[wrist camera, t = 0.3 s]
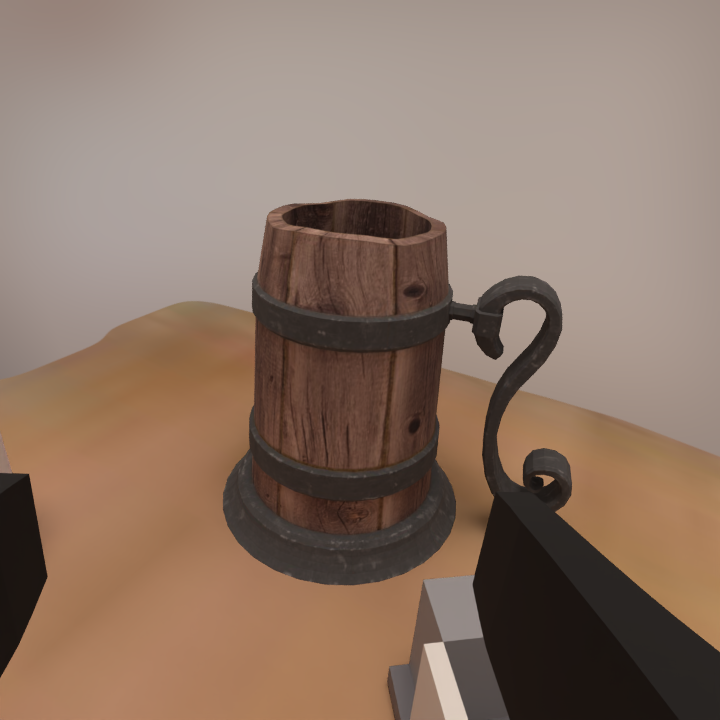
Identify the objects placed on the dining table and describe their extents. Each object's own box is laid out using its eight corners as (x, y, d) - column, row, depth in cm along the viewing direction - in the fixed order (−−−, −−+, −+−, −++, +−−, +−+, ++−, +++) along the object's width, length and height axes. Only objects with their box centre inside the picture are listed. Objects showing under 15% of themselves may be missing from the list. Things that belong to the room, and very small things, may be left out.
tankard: (173, 543, 34) (131, 229, 25) (280, 408, 49) (278, 178, 39) (558, 653, 29) (684, 310, 20) (548, 466, 44) (619, 218, 34)
